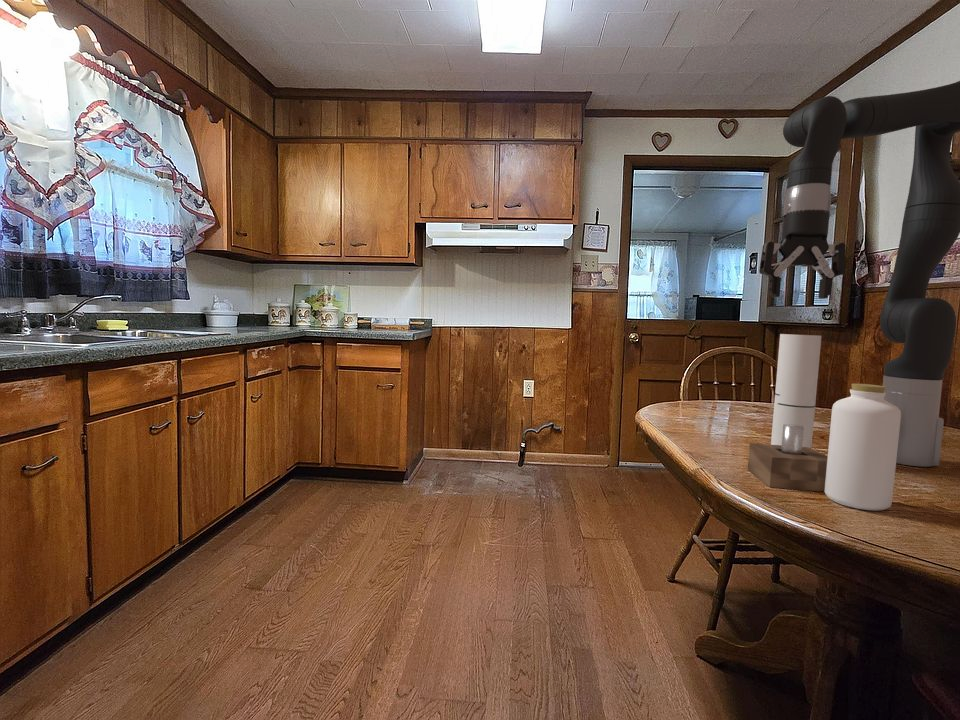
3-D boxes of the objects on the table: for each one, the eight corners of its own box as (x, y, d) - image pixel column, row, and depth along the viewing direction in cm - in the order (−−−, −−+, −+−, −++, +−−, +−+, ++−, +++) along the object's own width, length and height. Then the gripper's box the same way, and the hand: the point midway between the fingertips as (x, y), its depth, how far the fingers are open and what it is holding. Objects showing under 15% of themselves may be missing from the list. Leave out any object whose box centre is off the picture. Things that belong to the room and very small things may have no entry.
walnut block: (806, 474, 94) (808, 447, 93) (835, 492, 84) (838, 461, 83) (747, 470, 95) (749, 443, 95) (769, 487, 85) (772, 457, 85)
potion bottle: (895, 517, 73) (908, 390, 72) (824, 504, 78) (835, 384, 76) (887, 501, 80) (899, 385, 79) (823, 490, 85) (833, 380, 83)
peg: (794, 470, 91) (798, 424, 90) (802, 475, 88) (807, 428, 87) (776, 468, 91) (780, 423, 90) (783, 473, 88) (787, 427, 87)
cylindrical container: (799, 453, 110) (809, 335, 108) (817, 462, 103) (829, 336, 101) (764, 450, 111) (773, 333, 109) (779, 459, 104) (790, 334, 102)
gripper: (836, 216, 102) (828, 300, 103) (758, 215, 104) (752, 297, 105) (858, 208, 94) (850, 298, 95) (774, 207, 96) (767, 295, 97)
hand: (798, 297), depth 100 cm, fingers open, 8 cm apart
